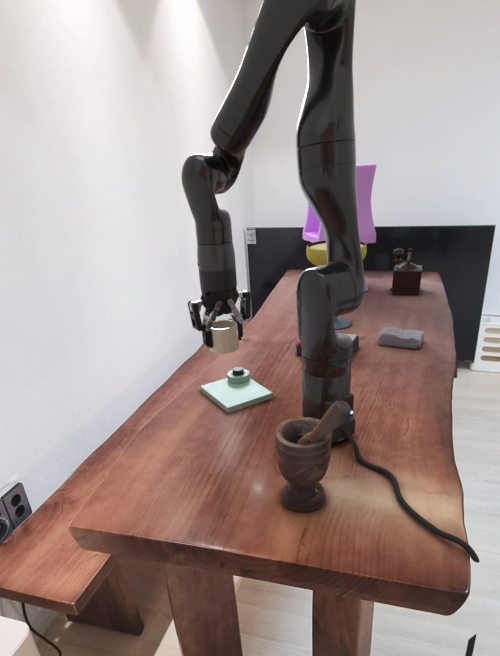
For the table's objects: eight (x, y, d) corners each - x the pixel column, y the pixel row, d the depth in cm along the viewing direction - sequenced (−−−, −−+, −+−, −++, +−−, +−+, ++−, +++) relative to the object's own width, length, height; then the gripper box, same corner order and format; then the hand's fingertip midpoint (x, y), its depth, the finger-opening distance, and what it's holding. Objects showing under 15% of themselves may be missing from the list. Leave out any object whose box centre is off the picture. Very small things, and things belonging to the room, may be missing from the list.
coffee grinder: (390, 288, 187) (394, 241, 179) (419, 288, 184) (425, 241, 176) (388, 298, 174) (392, 249, 166) (419, 299, 171) (425, 249, 163)
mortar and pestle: (353, 490, 78) (359, 383, 68) (343, 525, 71) (348, 410, 61) (286, 478, 81) (283, 375, 72) (271, 510, 74) (265, 400, 65)
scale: (273, 397, 109) (273, 386, 107) (228, 413, 103) (227, 401, 102) (242, 377, 120) (242, 366, 118) (200, 390, 114) (198, 379, 113)
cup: (244, 349, 101) (242, 324, 98) (218, 356, 98) (216, 331, 95) (229, 340, 106) (227, 317, 103) (204, 347, 103) (202, 323, 100)
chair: (303, 283, 201) (302, 167, 180) (352, 278, 204) (357, 163, 183) (318, 296, 182) (319, 168, 161) (372, 291, 185) (380, 164, 164)
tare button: (245, 374, 115) (245, 369, 114) (236, 377, 114) (235, 371, 113) (240, 371, 117) (239, 365, 116) (231, 374, 116) (230, 368, 115)
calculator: (308, 330, 138) (359, 332, 131) (309, 343, 140) (359, 347, 133) (295, 342, 129) (348, 346, 123) (296, 357, 131) (348, 361, 124)
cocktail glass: (319, 336, 143) (319, 252, 131) (298, 319, 158) (297, 243, 147) (372, 328, 147) (378, 246, 135) (347, 312, 162) (350, 237, 151)
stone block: (384, 340, 142) (376, 345, 133) (386, 324, 140) (378, 328, 132) (424, 346, 137) (418, 351, 128) (427, 330, 135) (422, 334, 127)
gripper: (192, 274, 88) (202, 356, 95) (257, 262, 94) (260, 340, 102) (176, 268, 93) (186, 346, 101) (238, 257, 100) (243, 331, 108)
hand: (223, 343), depth 101 cm, fingers closed on cup, 6 cm apart
